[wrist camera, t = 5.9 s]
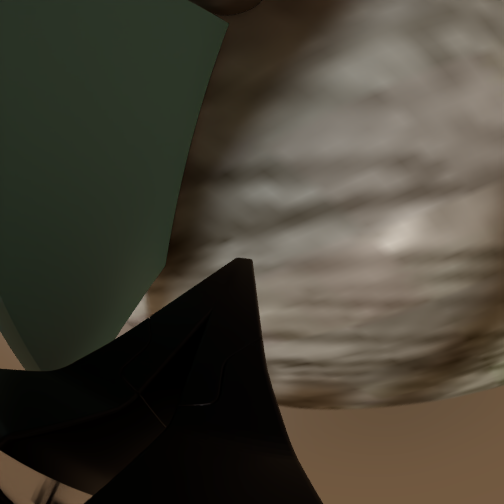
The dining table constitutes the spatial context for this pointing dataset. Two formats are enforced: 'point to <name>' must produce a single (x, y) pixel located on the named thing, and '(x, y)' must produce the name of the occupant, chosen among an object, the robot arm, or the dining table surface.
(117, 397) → the robot arm
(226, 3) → the fixed leaf
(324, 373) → the dining table surface
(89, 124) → the hinge leaf
